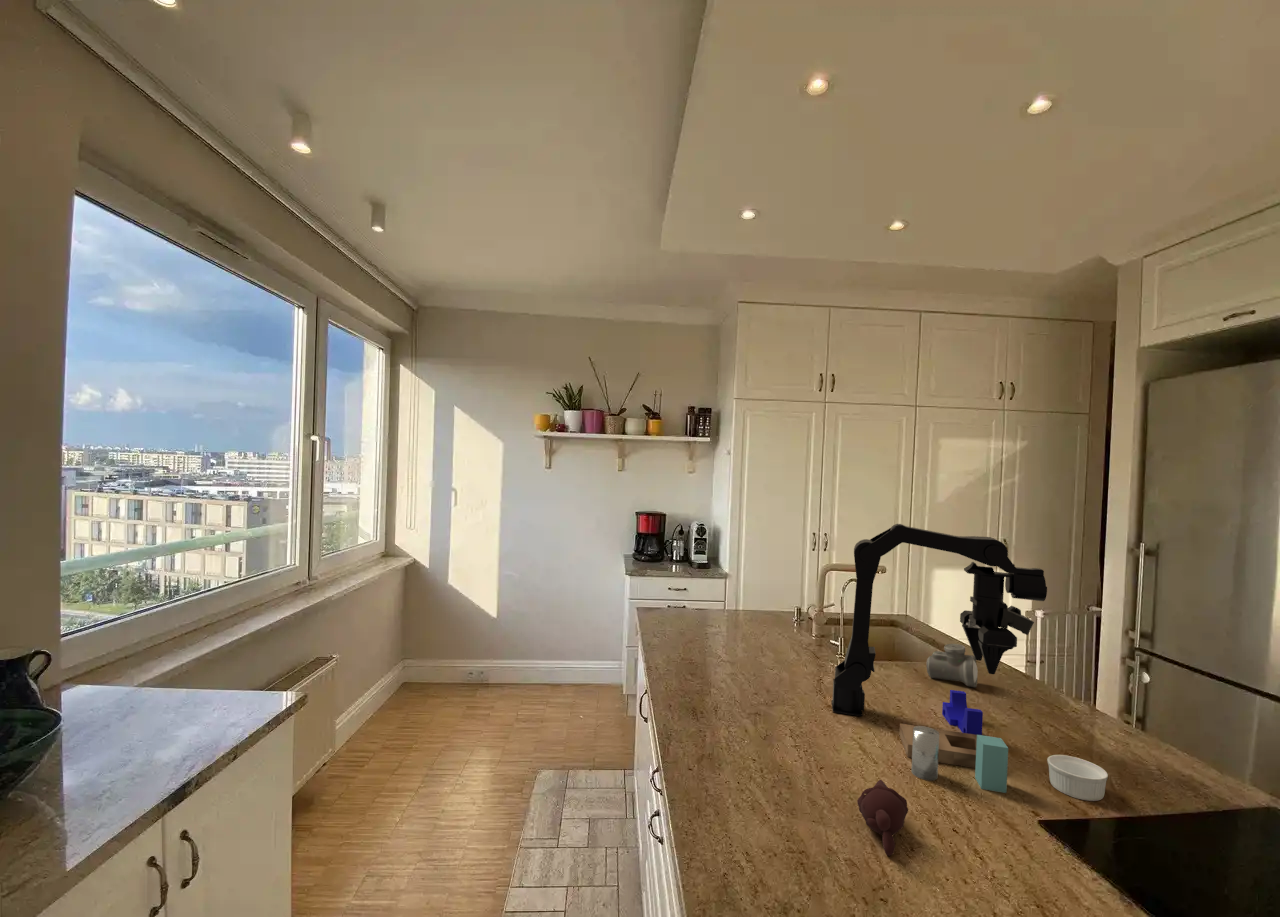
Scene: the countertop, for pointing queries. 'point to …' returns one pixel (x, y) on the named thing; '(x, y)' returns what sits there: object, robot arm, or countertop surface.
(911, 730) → the socket board
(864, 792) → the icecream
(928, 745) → the round peg
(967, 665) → the pipe fitting
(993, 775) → the square peg
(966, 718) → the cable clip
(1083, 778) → the ramekin
